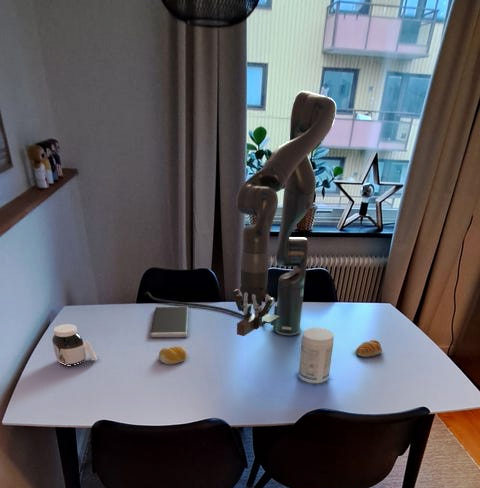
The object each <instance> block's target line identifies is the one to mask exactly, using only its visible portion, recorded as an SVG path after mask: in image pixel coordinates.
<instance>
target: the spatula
mask: <svg viewBox="0 0 480 488" xmlns="http://www.w3.org/2000/svg"><path fill="white" fill-rule="evenodd" d="M254 317H255V313H254V312H253V313H252V314H251V315H250V316H249V317H247V318H245V319H244V318H243V319H242V320H240V321H238V322H237V323H236V335H238V336H240V337H245V336H247V335H248V334H250V333H252V332H253V331H255V330H256V329H254ZM278 318H279V316H277V315H274V313H269V312H268V314H267V315H265V316H263V317H262V318H261V326H262V323H266V324H269V325H271V323H272V322H273V321H275V320H276V319H278Z"/></svg>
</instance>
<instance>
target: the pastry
mask: <svg viewBox="0 0 480 488" xmlns="http://www.w3.org/2000/svg"><path fill="white" fill-rule="evenodd" d="M382 352H383V348H382V345H381V342H380V341H378V340H376V339H370V340H367V341H364V342H362V343H361V344H359V346H358V347H357V348H356V349H355V355H358V356H360V357H364V358H368V357H373V356H374V357H375V356H377V355H380V354H381V353H382Z"/></svg>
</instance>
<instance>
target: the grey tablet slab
mask: <svg viewBox="0 0 480 488" xmlns="http://www.w3.org/2000/svg"><path fill="white" fill-rule="evenodd" d="M153 313H154V314H153V318H152V324H151V330H150V337H151V338H185V337H188V333H189V307H188V306H155V309H154V312H153Z"/></svg>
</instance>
